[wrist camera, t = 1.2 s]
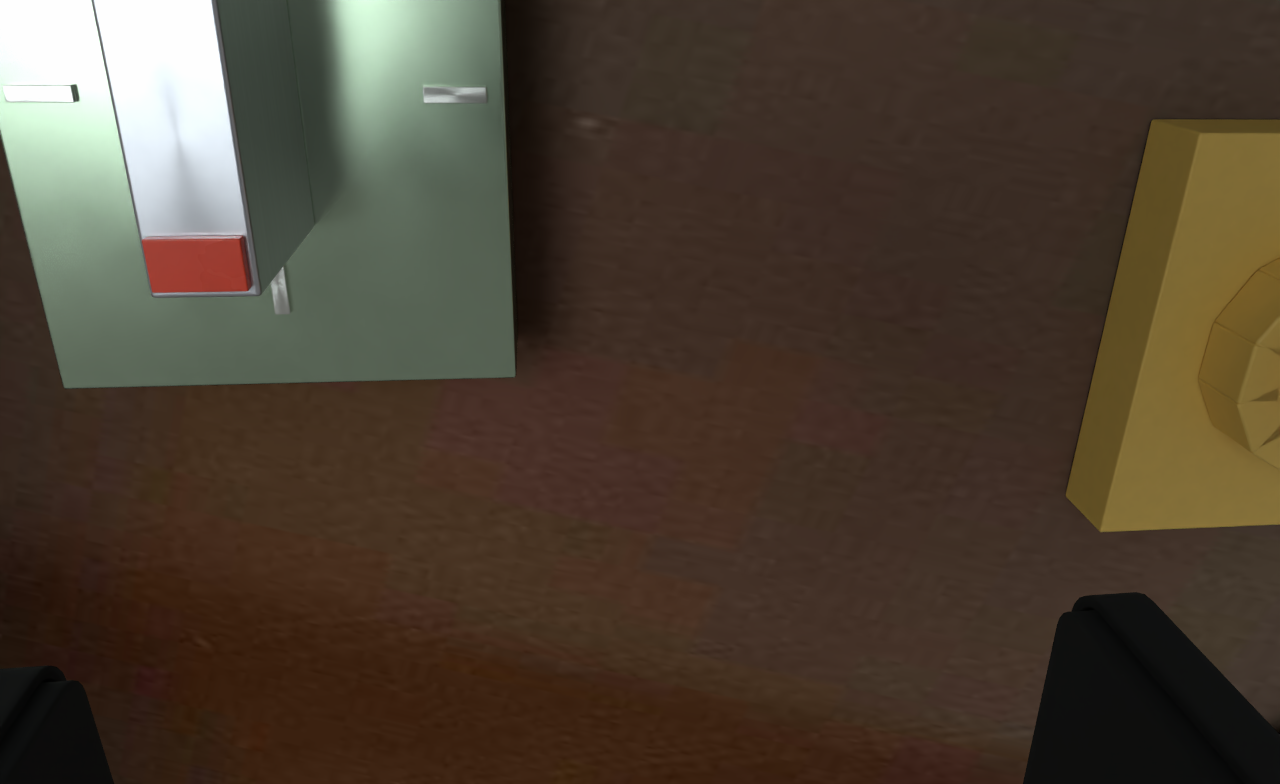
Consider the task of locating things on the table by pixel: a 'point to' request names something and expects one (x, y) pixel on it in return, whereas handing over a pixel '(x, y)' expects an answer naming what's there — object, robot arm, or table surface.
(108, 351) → the lever panel
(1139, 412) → the switch block
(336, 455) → the table surface
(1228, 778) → the robot arm
